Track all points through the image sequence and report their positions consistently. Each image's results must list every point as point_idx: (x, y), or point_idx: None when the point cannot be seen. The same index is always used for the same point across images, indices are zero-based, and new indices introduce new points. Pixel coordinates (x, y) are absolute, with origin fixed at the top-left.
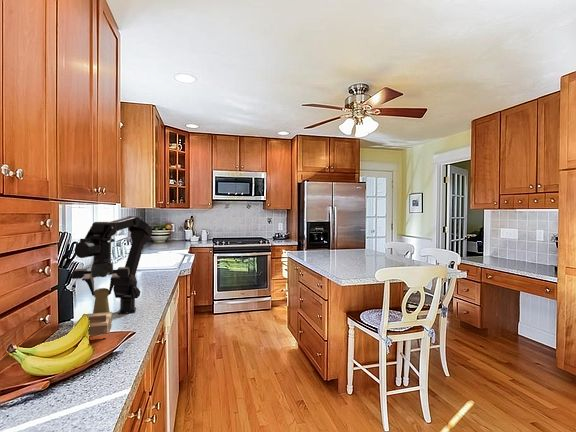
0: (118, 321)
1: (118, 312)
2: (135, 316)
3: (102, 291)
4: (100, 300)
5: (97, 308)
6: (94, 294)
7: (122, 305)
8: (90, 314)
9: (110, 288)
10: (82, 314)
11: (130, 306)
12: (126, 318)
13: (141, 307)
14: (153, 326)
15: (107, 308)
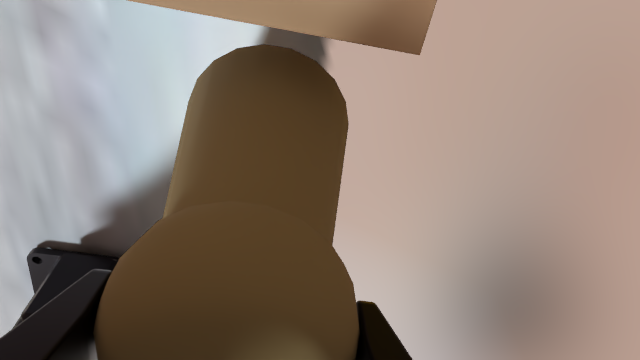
0: (133, 97)
1: None
2: (7, 163)
3: (197, 289)
4: (257, 182)
5: (301, 123)
6: (350, 291)
7: None
8: (386, 8)
9: (16, 356)
10: None
11: (39, 287)
12: (76, 145)
13: None
14: None
15: (189, 129)
